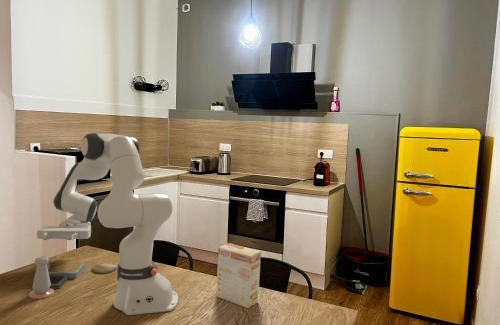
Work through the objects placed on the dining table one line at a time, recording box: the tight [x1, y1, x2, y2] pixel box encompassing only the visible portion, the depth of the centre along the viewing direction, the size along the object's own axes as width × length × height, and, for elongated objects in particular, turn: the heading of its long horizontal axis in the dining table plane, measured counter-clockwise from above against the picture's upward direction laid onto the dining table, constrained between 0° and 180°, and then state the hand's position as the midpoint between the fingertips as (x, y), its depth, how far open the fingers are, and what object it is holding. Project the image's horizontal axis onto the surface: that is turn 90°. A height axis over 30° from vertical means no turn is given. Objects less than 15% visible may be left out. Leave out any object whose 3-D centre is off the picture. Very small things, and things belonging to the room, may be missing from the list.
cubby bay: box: [47, 262, 85, 279], centre depth 152 cm, size 10×15×2 cm, turn 97°
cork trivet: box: [92, 262, 118, 274], centre depth 159 cm, size 10×10×1 cm
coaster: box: [28, 288, 55, 300], centre depth 134 cm, size 8×8×1 cm
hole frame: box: [49, 275, 69, 290], centre depth 143 cm, size 9×9×2 cm
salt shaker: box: [31, 255, 51, 295], centre depth 134 cm, size 6×6×13 cm
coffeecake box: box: [215, 242, 262, 309], centre depth 138 cm, size 15×7×20 cm, turn 56°
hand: (57, 238), depth 146 cm, fingers open, 8 cm apart
